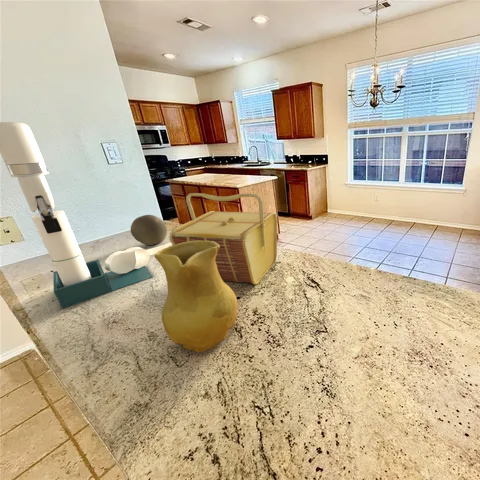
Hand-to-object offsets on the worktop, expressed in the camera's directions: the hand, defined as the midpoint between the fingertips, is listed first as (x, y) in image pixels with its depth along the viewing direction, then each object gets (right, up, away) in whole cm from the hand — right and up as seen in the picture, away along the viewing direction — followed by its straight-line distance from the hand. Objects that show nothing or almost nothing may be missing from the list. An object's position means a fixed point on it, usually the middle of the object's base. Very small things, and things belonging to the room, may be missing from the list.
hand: (54, 228), depth 81 cm
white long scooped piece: (+13, -11, +32) cm, 37 cm away
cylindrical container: (+1, -19, +8) cm, 20 cm away
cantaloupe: (0, -6, +48) cm, 48 cm away
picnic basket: (+50, -16, +19) cm, 56 cm away
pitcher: (+53, -28, -11) cm, 61 cm away
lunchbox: (+4, -19, +16) cm, 25 cm away
